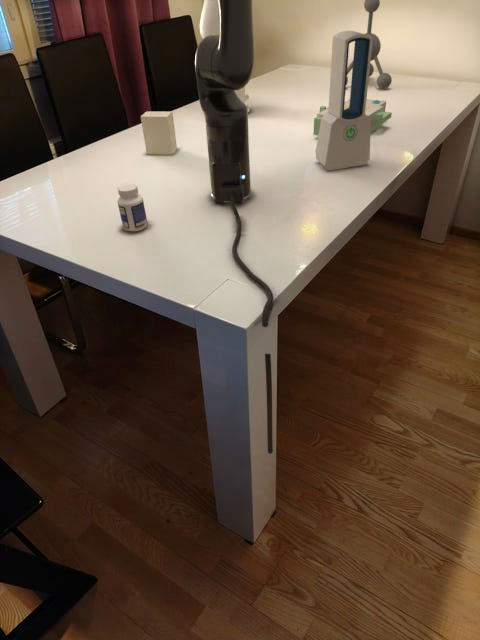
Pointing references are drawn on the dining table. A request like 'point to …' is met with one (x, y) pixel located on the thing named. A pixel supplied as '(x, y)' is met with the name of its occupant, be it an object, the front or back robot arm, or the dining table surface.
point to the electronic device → (352, 123)
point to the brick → (159, 133)
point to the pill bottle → (131, 208)
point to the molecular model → (374, 48)
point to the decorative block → (373, 111)
